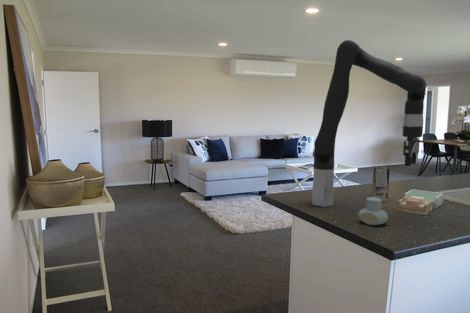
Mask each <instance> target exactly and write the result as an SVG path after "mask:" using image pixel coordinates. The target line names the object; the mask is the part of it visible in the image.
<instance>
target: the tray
mask: <svg viewBox="0 0 470 313" xmlns="http://www.w3.org/2000/svg"><path fill="white" fill-rule="evenodd" d="M403 195H404V197H406V196H408V199H409V198H411V197H412V196H418V197H425V201H428V202H430V201H431V200H434V209H433V210H436V209H439V207H441V205H443V204H444V193H443V192H435V191H429V190H428V191H427V190H421V189H415V188H413V189H410V190H409V191H407V192H405V193H404V194H403ZM404 197H403V198H404Z"/></svg>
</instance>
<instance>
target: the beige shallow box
mask: <svg viewBox="0 0 470 313" xmlns="http://www.w3.org/2000/svg"><path fill="white" fill-rule="evenodd" d="M407 199H408V196H406V197H403V198H401V199H399V200H398V201H396V209H395V210H396V211H398V212H404V213H409V214H416V215H422V216H427V215H428V214H429V213H430V212H432V211H434V210H435V209H434V200H431V201H430V202H428V201H425V202H424V203H422V204H421V205H419V206H418V207H417V206H411V205H406V200H407Z"/></svg>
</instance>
